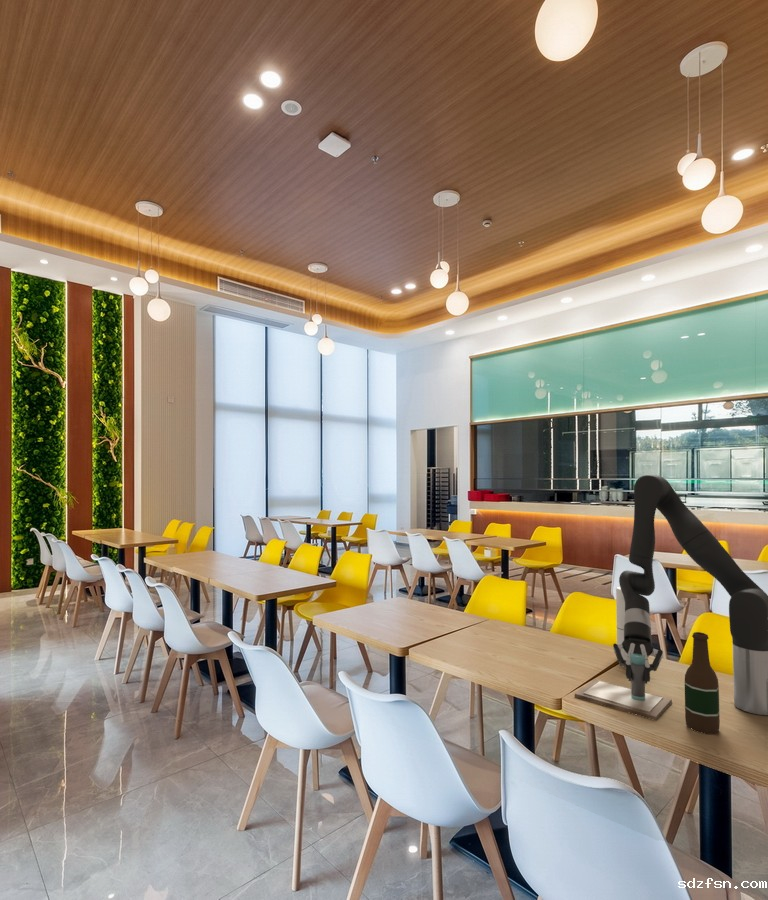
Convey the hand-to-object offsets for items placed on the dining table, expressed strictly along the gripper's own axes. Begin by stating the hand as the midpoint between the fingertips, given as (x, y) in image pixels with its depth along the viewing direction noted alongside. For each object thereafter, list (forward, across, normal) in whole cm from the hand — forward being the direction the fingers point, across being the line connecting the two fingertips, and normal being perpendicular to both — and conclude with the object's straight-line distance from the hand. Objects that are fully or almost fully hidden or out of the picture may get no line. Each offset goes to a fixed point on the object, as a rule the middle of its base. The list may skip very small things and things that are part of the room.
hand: (637, 680), depth 149 cm
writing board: (+3, -4, +6) cm, 8 cm away
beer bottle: (+10, +15, 0) cm, 18 cm away
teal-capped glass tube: (+2, 0, +5) cm, 6 cm away
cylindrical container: (-26, -3, +36) cm, 44 cm away
